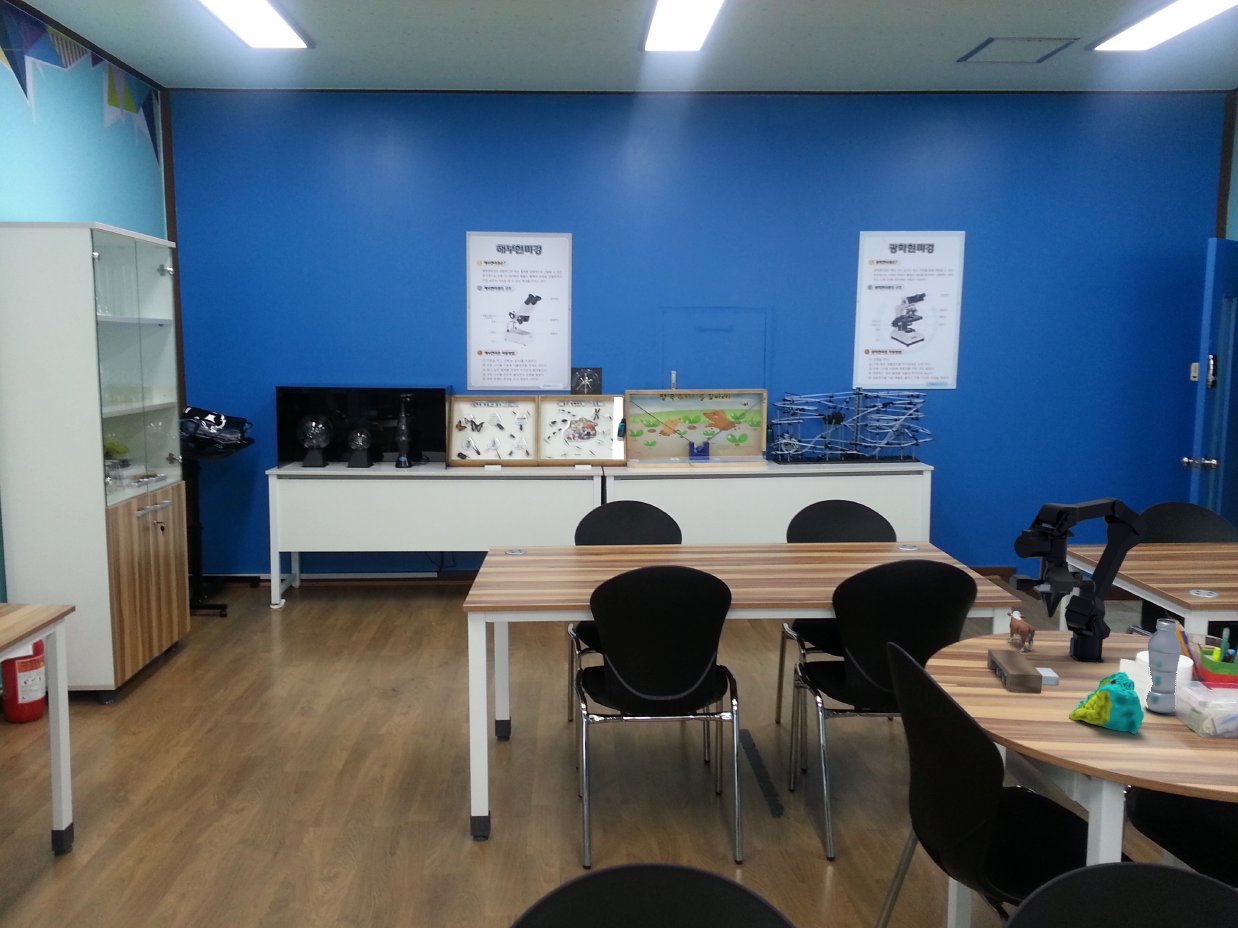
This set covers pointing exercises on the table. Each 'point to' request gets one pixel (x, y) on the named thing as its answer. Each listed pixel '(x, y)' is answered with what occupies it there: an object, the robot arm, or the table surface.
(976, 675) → the table surface
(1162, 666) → the plastic bottle
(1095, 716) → the turquoise and yellow lump
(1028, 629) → the bull figurine
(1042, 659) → the table surface
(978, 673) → the table surface
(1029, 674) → the low shelf
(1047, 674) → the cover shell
